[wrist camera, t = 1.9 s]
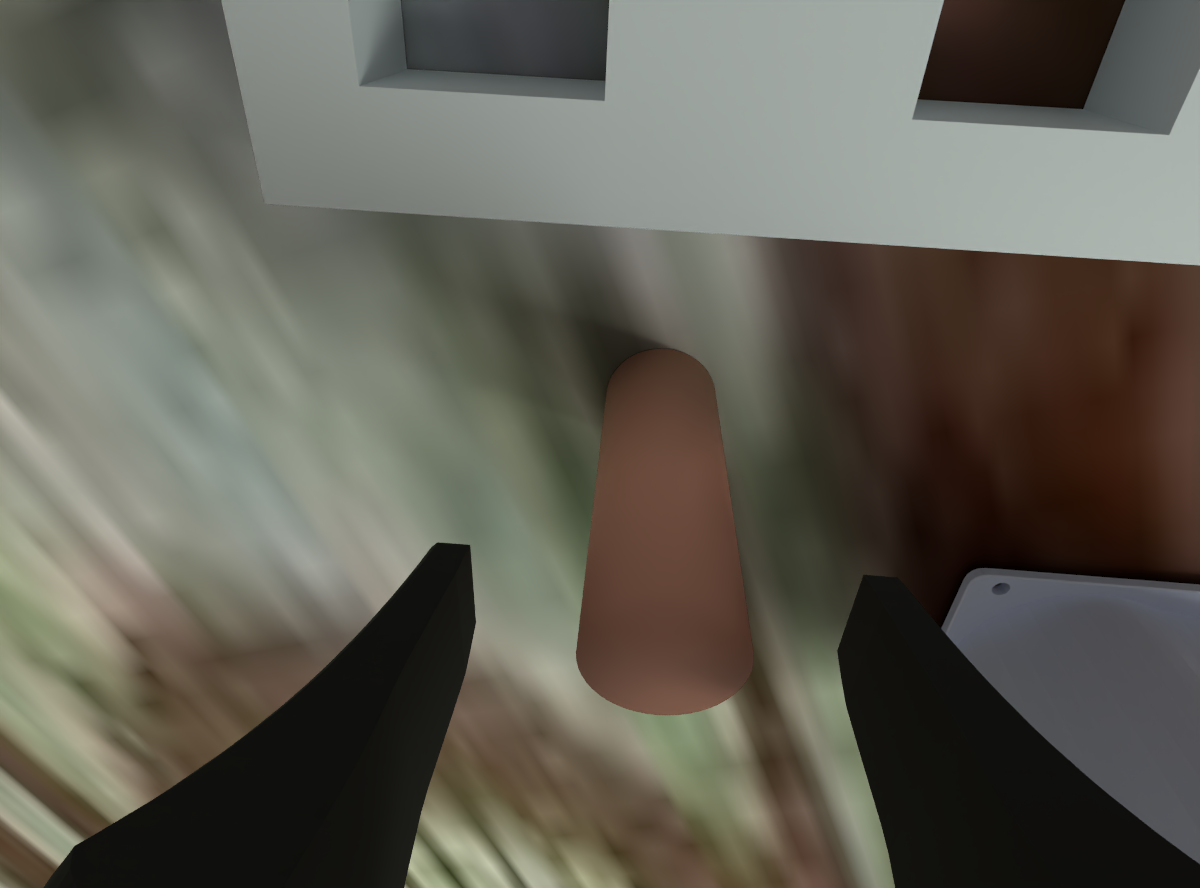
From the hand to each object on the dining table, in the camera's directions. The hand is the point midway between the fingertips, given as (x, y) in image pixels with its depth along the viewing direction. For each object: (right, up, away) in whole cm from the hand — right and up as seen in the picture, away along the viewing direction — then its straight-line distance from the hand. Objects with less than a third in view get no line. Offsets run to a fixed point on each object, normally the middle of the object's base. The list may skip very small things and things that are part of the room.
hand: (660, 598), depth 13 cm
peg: (+1, +4, +6) cm, 8 cm away
